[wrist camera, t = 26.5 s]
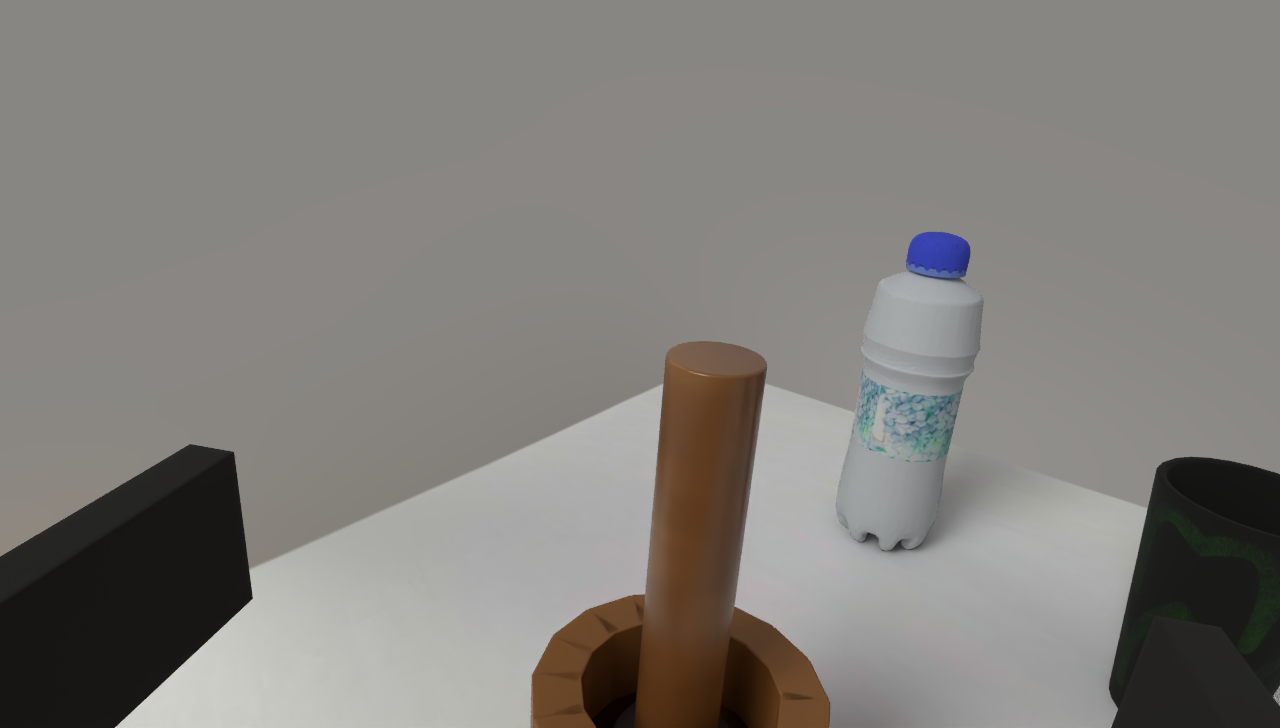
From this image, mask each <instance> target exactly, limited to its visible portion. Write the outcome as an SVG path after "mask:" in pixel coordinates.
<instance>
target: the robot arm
mask: <svg viewBox="0 0 1280 728" xmlns="http://www.w3.org/2000/svg"><path fill="white" fill-rule="evenodd" d="M252 599H253V596H252V589H251V581H250V573H249V565H248V558H247V550H246V542H245V535H244V527H243V519H242V511H241V503H240V495H239V488H238V480H237V472H236V465H235V457H234V452H231V451H225V450H220V449H214V448H208V447H203V446H197V445H191V444H190V445H188V446H186V447H185V448H183V449H181V450H180V451H178V452H176V453H175V454H173V455H171V456H170V457H168V458H166V459H165V460H163V461H161V462H160V463H158V464H156V465H154V466H153V467H151V468H149V469H148V470H146V471H144V472H143V473H141V474H139V475H137V476H136V477H134V478H132V479H131V480H129V481H127V482H126V483H124V484H122V485H121V486H119V487H117V488H116V489H114V490H112V491H111V492H109V493H107V494H105V495H104V496H102V497H100V498H99V499H97V500H95V501H94V502H92V503H90V504H89V505H87V506H85V507H83V508H82V509H80V510H78V511H77V512H75V513H73V514H72V515H70V516H68V517H67V518H65V519H63V520H61V521H60V522H58V523H56V524H55V525H53V526H51V527H50V528H48V529H46V530H45V531H43V532H41V533H40V534H38V535H36V536H34V537H33V538H31V539H29V540H28V541H26V542H24V543H23V544H21V545H19V546H18V547H16V548H14V549H12V550H11V551H9V552H7V553H6V554H4V555H2V556H1V557H0V728H115V727H116V726H117V725H118V724H119V723H120V722H121V721H122V720H123V719H125V718H126V717H127V716H128V715H129V714H130V713H131V712H132V711H133V710H134V709H135V708H136V707H137V706H138V705H140V704H141V703H142V702H143V701H144V700H145V699H146V698H147V697H148V696H149V695H150V694H151V693H152V692H153V691H154V690H156V689H157V688H158V687H159V686H160V685H161V684H162V683H163V682H164V681H165V680H166V679H167V678H168V677H169V676H171V675H172V674H173V673H174V672H175V671H176V670H177V669H178V668H179V667H180V666H181V665H182V664H183V663H184V662H185V661H187V660H188V659H189V658H190V657H191V656H192V655H193V654H194V653H195V652H196V651H197V650H198V649H199V648H200V647H202V646H203V645H204V644H205V643H206V642H207V641H208V640H209V639H210V638H211V637H212V636H213V635H214V634H215V633H216V632H218V631H219V630H220V629H221V628H222V627H223V626H224V625H225V624H226V623H227V622H228V621H229V620H230V619H231V618H233V617H234V616H235V615H236V614H237V613H238V612H239V611H240V610H241V609H242V608H243V607H244V606H245V605H246V604H247V603H249V602H250V601H251V600H252ZM1111 728H1280V706H1279V705H1278V704H1277V702H1276V701H1275V700H1274V698H1273V697H1272V696H1271V694H1270V693H1269V691H1268V690H1267V689H1266V687H1265V686H1264V685H1263V683H1262V682H1261V681H1260V679H1259V678H1258V677H1257V675H1256V674H1255V673H1254V671H1253V670H1252V669H1251V667H1250V666H1249V665H1248V663H1247V662H1246V661H1245V659H1244V658H1243V657H1242V655H1241V654H1240V653H1239V651H1238V650H1237V649H1236V647H1235V646H1234V645H1233V643H1232V642H1231V641H1230V639H1229V638H1228V637H1227V635H1226V634H1225V633H1224V631H1223V630H1222V629H1221V627H1217V626H1211V625H1206V624H1200V623H1194V622H1189V621H1183V620H1178V619H1172V618H1166V617H1161V616H1155V615H1154V618H1153V620H1152V623H1151V625H1150V628H1149V631H1148V633H1147V636H1146V638H1145V641H1144V644H1143V646H1142V649H1141V652H1140V654H1139V657H1138V659H1137V662H1136V665H1135V667H1134V670H1133V672H1132V675H1131V678H1130V680H1129V683H1128V685H1127V688H1126V691H1125V693H1124V696H1123V699H1122V701H1121V704H1120V706H1119V709H1118V712H1117V714H1116V717H1115V719H1114V722H1113V725H1112V727H1111Z"/></svg>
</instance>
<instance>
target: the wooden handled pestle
mask: <svg viewBox="0 0 1280 728" xmlns="http://www.w3.org/2000/svg"><path fill="white" fill-rule="evenodd" d="M766 370H767V364H766V361H765V359H764V358H763V357H762V356H761V355H759V354H758V353H756V352H754V351H751V350H749V349H746V348H744V347H740V346H736V345H732V344H727V343H721V342H708V341H700V342H688V343H683V344H679V345H676V346H674V347H672V348H671V349H669V351H668V352H667V355H666V363H665V374H664V385H663V397H662V408H661V420H660V431H659V443H658V454H657V466H656V477H655V489H654V500H653V512H652V523H651V535H650V546H649V558H648V569H647V581H646V592H645V604H644V615H643V627H642V638H641V650H640V661H639V673H638V684H637V696H636V702H635V703H633V704H632V705H630V706H629V707H628V708H626V709H625V710H624V711H623V712H622V713H621V715H620V716H619V717H618V719H617V720H616V722H615V724H614V726H613V728H729V726H728V724H727V723H726V722H725V720H724V719H723V718H722V717H721V716H720V715H719V714H720V706H721V699H722V692H723V684H724V677H725V670H726V663H727V655H728V648H729V641H730V633H731V626H732V619H733V611H734V604H735V597H736V590H737V582H738V575H739V568H740V560H741V553H742V546H743V539H744V531H745V524H746V517H747V509H748V502H749V495H750V487H751V480H752V473H753V466H754V458H755V451H756V444H757V436H758V429H759V422H760V414H761V407H762V400H763V393H764V385H765V378H766Z"/></svg>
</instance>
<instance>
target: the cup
mask: <svg viewBox="0 0 1280 728" xmlns="http://www.w3.org/2000/svg"><path fill="white" fill-rule="evenodd" d="M1154 615H1155V616H1161V617H1166V618H1172V619H1178V620H1183V621H1189V622H1194V623H1200V624H1206V625H1211V626H1217V627H1221V629H1222V630H1223V631H1224V633H1225V634H1226V635H1227V637H1228V638H1229V639H1230V641H1231V642H1232V643H1233V645H1234V646H1235V647H1236V649H1237V650H1238V651H1239V653H1240V654H1241V655H1242V657H1243V658H1244V659H1245V661H1246V662H1247V663H1248V665H1249V666H1250V667H1251V669H1252V670H1253V671H1254V673H1255V674H1256V675H1257V677H1258V678H1259V679H1260V681H1261V682H1262V683H1263V685H1264V686H1265V687H1266V689H1267V690H1268V691H1269V693H1270V694H1271V696H1272V697H1273V695H1274V693H1275V692H1276V690H1277V689H1278V687H1279V686H1280V474H1278V473H1275V472H1271V471H1268V470H1264V469H1261V468H1257V467H1253V466H1250V465H1246V464H1241V463H1236V462H1232V461H1226V460H1220V459H1213V458H1201V457H1184V458H1175V459H1172V460H1169V461H1166V462H1163V463H1162V464H1161V465H1160V466H1159V467H1158V468H1157V470H1156V474H1155V479H1154V483H1153V488H1152V493H1151V497H1150V501H1149V506H1148V510H1147V515H1146V519H1145V524H1144V529H1143V533H1142V538H1141V542H1140V547H1139V551H1138V556H1137V560H1136V565H1135V569H1134V574H1133V578H1132V583H1131V588H1130V592H1129V597H1128V601H1127V606H1126V610H1125V615H1124V619H1123V624H1122V628H1121V633H1120V637H1119V642H1118V647H1117V651H1116V656H1115V660H1114V665H1113V669H1112V674H1111V678H1110V685H1109V690H1110V694H1111V697H1112V699H1113V701H1114V702H1115V704H1116V705H1117V707H1118V708H1119V706H1120V704H1121V701H1122V699H1123V696H1124V693H1125V691H1126V688H1127V685H1128V683H1129V680H1130V678H1131V675H1132V672H1133V670H1134V667H1135V665H1136V662H1137V659H1138V657H1139V654H1140V652H1141V649H1142V646H1143V644H1144V641H1145V638H1146V636H1147V633H1148V631H1149V628H1150V625H1151V623H1152V620H1153V618H1154Z"/></svg>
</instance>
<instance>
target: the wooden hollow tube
mask: <svg viewBox="0 0 1280 728" xmlns="http://www.w3.org/2000/svg"><path fill="white" fill-rule="evenodd" d="M644 604H645V595H632V596H628V597H625V598H622V599H619V600H615V601H612V602H609V603H606V604H603V605H600V606H597V607H594V608H590V609H588V610H586V611H585V612H583V613H582V614H581V615H579V616H578V617H577V618H575V619H574V620H573V621H571V622H570V623H569V624H567V625H566V626H565V627H563V628H562V629H561V630H559V631H558V632H557V633H555V634H554V635H553V637H552V638H551V640H550V642H549V644H548V646H547V648H546V650H545V651H544V653H543V655H542V657H541V659H540V661H539V663H538V665H537V667H536V668H535V670H534V672H533V674H532V691H531V728H613V726H614V724H615V722H616V720H617V719H618V717H619V716H620V715H621V713H622V712H623V711H624V710H625V709H626V708H628V707H629V706H630V705H632V704H633V703H635V702H636V696H637V684H638V673H639V661H640V650H641V638H642V627H643V615H644ZM719 715H720V716H721V717H722V718H723V719H724V720H725V722H726V723H727V724H728V726H729V728H829V724H830V702H829V699H828V697H827V695H826V693H825V691H824V689H823V687H822V685H821V683H820V681H819V678H818V676H817V674H816V672H815V670H814V668H813V666H812V664H811V662H810V661H809V660H808V658H807V657H806V656H805V655H804V654H803V653H802V652H801V651H800V650H799V649H798V648H796V647H795V646H794V645H793V644H792V643H791V642H790V641H789V640H788V639H787V638H786V637H785V636H784V635H783V634H781V633H780V632H779V631H778V630H777V629H776V628H774V627H773V626H772V625H770V624H768V623H766V622H764V621H762V620H760V619H758V618H756V617H754V616H752V615H750V614H748V613H746V612H744V611H742V610H740V609H738V608H736V607H734V611H733V619H732V626H731V633H730V641H729V648H728V655H727V663H726V670H725V677H724V684H723V692H722V699H721V706H720V714H719Z"/></svg>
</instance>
